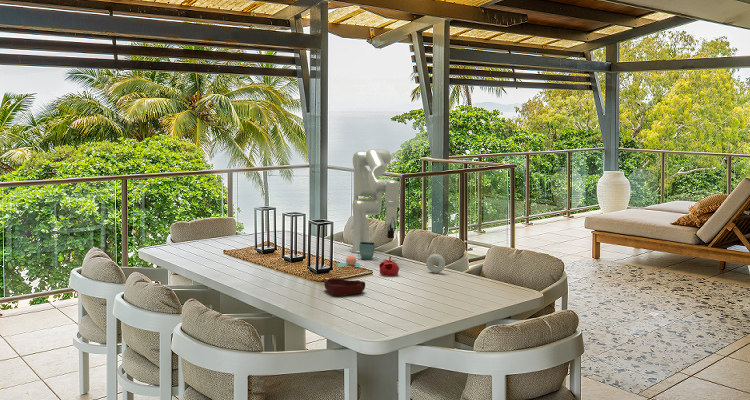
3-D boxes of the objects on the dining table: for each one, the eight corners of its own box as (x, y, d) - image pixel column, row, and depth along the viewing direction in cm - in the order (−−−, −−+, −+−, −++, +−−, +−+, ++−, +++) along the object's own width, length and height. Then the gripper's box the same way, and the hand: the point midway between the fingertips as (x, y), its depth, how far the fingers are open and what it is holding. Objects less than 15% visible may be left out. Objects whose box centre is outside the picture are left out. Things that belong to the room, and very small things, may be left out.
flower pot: (374, 260, 369) (375, 244, 368) (358, 260, 369) (359, 244, 368) (374, 257, 378) (375, 242, 377) (359, 257, 378) (359, 241, 377)
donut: (445, 273, 341) (446, 254, 340) (443, 274, 338) (444, 255, 337) (426, 271, 345) (427, 252, 344) (425, 272, 342) (425, 253, 341)
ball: (356, 261, 356) (347, 266, 355) (352, 252, 355) (343, 257, 354) (359, 263, 351) (349, 268, 350) (354, 254, 350) (345, 259, 349)
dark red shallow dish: (315, 295, 287) (315, 283, 287) (331, 287, 302) (331, 276, 302) (353, 300, 281) (353, 288, 280) (367, 292, 296) (368, 281, 295)
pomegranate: (388, 272, 340) (389, 254, 339) (402, 275, 333) (403, 257, 332) (374, 274, 333) (375, 256, 332) (388, 277, 326) (389, 258, 325)
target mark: (336, 263, 358) (336, 262, 358) (358, 263, 360) (358, 262, 360) (338, 267, 346) (338, 267, 346) (361, 267, 348) (361, 267, 348)
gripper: (382, 202, 360) (381, 235, 362) (387, 205, 345) (385, 240, 347) (396, 202, 361) (395, 235, 363) (401, 205, 346) (399, 240, 348)
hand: (390, 237), depth 355 cm, fingers closed
